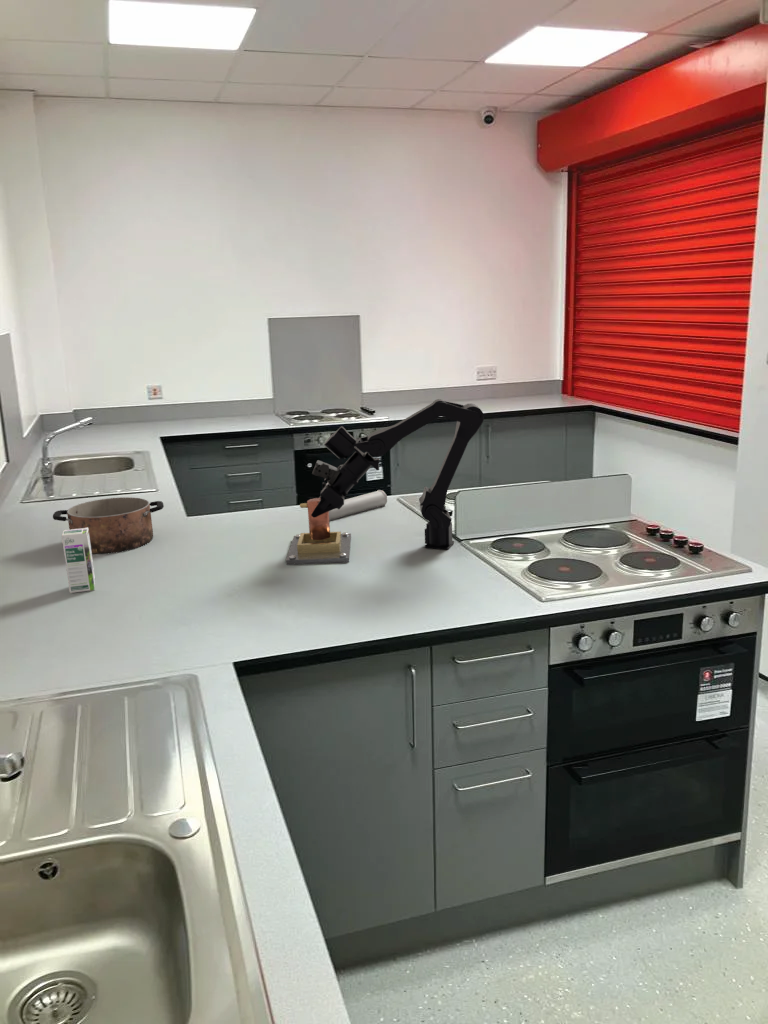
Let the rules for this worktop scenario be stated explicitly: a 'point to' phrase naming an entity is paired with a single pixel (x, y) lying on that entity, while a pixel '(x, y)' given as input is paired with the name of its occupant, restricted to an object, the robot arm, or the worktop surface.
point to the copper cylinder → (317, 521)
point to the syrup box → (78, 560)
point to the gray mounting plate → (319, 549)
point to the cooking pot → (113, 522)
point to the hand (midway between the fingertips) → (313, 513)
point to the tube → (359, 504)
